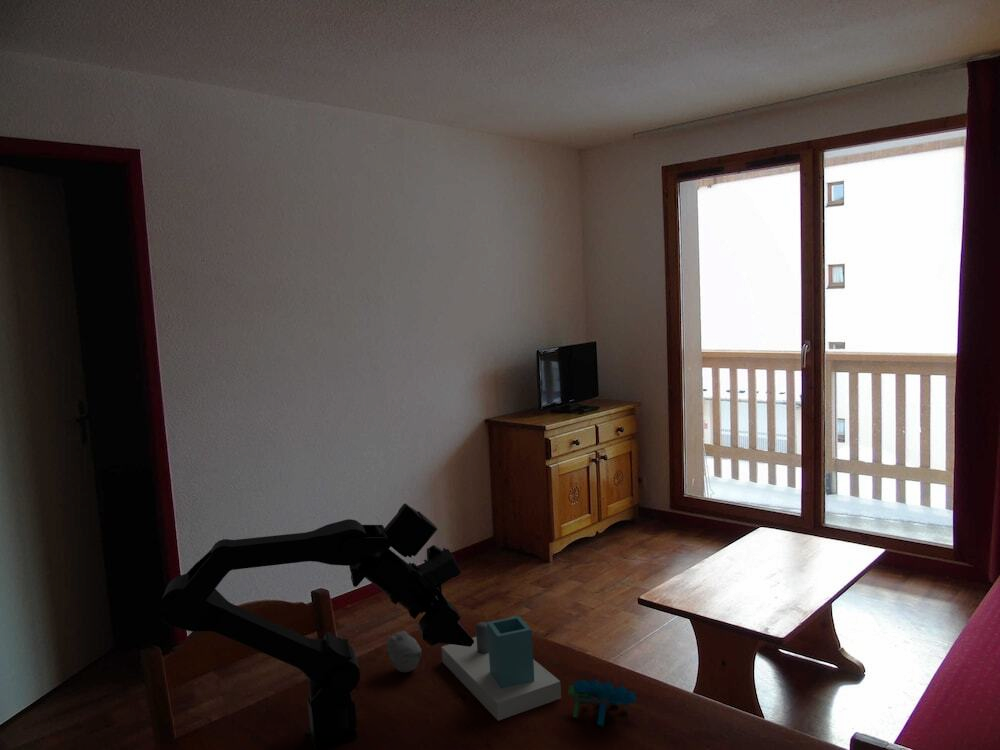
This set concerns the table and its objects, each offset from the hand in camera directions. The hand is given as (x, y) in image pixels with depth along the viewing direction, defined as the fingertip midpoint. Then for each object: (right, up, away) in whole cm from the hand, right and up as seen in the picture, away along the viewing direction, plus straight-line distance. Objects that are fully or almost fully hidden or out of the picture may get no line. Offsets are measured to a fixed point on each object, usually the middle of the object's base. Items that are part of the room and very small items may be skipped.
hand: (465, 631), depth 119 cm
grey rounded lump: (-12, -12, +14) cm, 22 cm away
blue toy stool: (+22, -12, -4) cm, 26 cm away
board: (+5, -12, +8) cm, 15 cm away
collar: (+8, -9, +3) cm, 12 cm away
